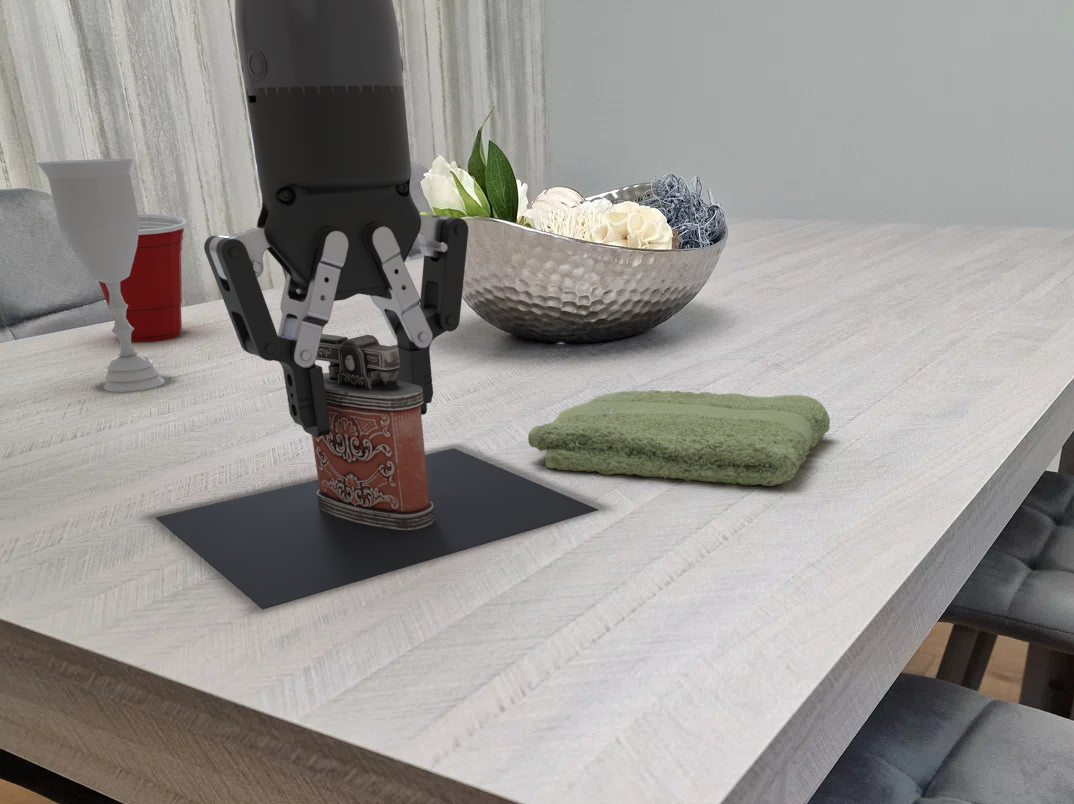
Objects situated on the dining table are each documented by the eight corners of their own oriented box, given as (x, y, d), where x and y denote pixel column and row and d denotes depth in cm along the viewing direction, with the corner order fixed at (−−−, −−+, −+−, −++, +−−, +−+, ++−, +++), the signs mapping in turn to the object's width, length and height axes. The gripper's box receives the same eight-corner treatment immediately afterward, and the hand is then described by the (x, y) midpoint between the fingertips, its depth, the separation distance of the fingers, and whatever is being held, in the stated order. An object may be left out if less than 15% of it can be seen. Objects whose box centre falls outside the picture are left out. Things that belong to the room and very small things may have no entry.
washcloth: (595, 418, 78) (594, 375, 76) (833, 438, 72) (836, 392, 70) (520, 471, 67) (517, 422, 66) (792, 500, 61) (795, 447, 59)
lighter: (448, 516, 59) (432, 338, 55) (406, 535, 57) (387, 350, 52) (347, 492, 63) (325, 324, 59) (304, 508, 61) (278, 335, 56)
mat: (263, 612, 49) (262, 608, 49) (155, 520, 60) (155, 517, 60) (598, 512, 60) (598, 509, 60) (454, 450, 71) (454, 447, 71)
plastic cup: (126, 353, 103) (98, 225, 97) (80, 340, 109) (51, 219, 104) (226, 336, 110) (206, 215, 105) (177, 324, 116) (155, 210, 111)
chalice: (133, 374, 94) (87, 159, 87) (195, 378, 92) (153, 158, 84) (71, 394, 88) (16, 163, 80) (136, 399, 86) (85, 163, 78)
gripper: (417, 82, 57) (443, 389, 64) (148, 84, 49) (213, 433, 56) (491, 77, 52) (511, 413, 59) (203, 78, 44) (267, 466, 51)
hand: (365, 421), depth 58 cm, fingers open, 5 cm apart
